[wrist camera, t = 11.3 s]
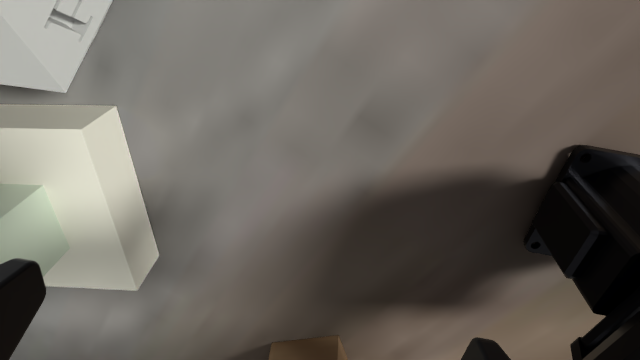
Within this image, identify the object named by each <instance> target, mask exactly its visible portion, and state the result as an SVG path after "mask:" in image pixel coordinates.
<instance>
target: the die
mask: <svg viewBox="0 0 640 360" xmlns="http://www.w3.org/2000/svg"><path fill="white" fill-rule="evenodd" d="M112 2H113V0H0V84H3V85H10V86H18V87H25V88H32V89H40V90H47V91H55V92H62V93H66V92H67V90H68V88H69V86H70V84H71V82H72V80H73V78H74V76H75V75H76V73H77V71H78V69H79V67H80V65H81V63H82V61H83V59H84V57H85V55H86V54H87V52H88V50H89V48H90V46H91V44H92V42H93V40H94V38H95V36H96V35H97V33H98V31H99V29H100V27H101V25H102V23H103V21H104V19H105V17H106V14H107V12H108V10H109V8H110V6H111V4H112Z"/></svg>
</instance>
